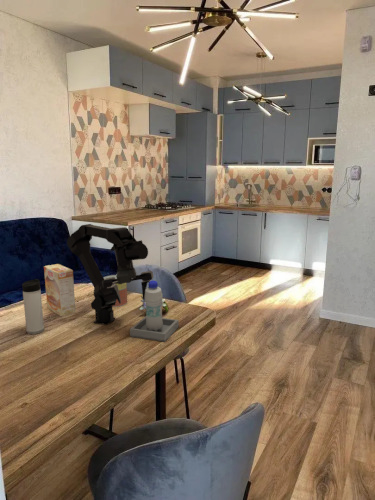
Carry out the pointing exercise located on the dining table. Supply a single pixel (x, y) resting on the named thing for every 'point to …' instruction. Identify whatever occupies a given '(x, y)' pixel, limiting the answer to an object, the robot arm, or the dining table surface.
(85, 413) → the dining table surface
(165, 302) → the passion flower
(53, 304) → the coffeecake box
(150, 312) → the bottle
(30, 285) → the travel mug
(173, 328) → the open box
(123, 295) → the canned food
